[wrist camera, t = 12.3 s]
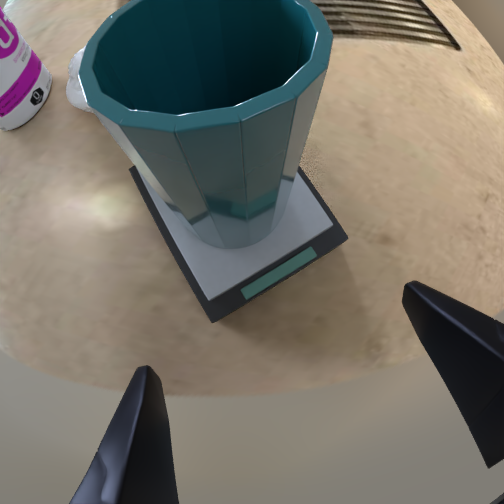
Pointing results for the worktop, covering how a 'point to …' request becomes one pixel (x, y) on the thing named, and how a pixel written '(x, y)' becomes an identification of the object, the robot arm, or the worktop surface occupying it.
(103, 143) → the worktop surface
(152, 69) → the cup
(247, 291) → the scale
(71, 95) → the white frosted cupcake
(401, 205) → the worktop surface
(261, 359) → the worktop surface
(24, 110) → the supplement can
